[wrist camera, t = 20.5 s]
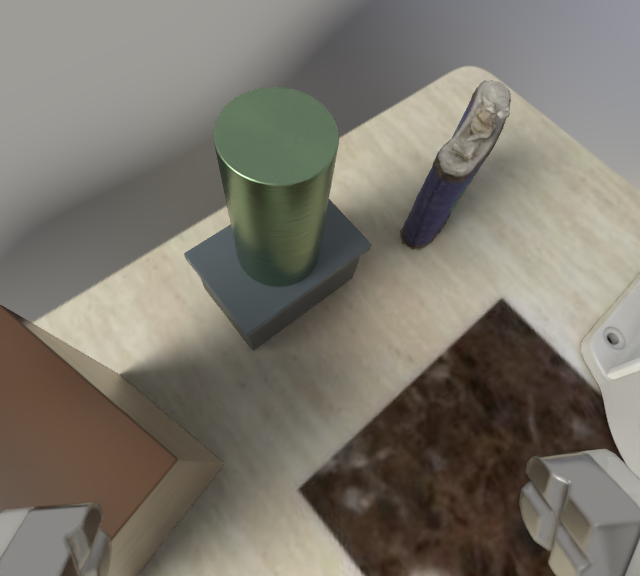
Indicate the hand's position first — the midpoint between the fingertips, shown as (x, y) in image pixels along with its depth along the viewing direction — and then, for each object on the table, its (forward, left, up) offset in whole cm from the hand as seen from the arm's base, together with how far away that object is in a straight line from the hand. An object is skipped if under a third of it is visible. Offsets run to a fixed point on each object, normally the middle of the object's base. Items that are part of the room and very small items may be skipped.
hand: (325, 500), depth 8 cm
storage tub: (-10, -9, -20) cm, 24 cm away
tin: (-10, -9, -14) cm, 20 cm away
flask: (-23, -3, -20) cm, 30 cm away
